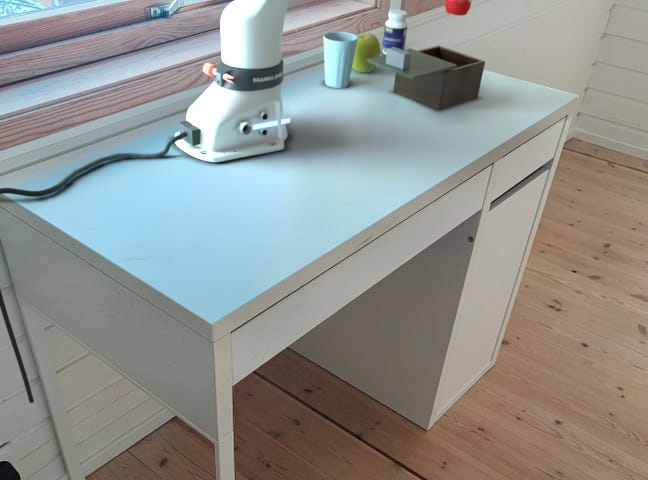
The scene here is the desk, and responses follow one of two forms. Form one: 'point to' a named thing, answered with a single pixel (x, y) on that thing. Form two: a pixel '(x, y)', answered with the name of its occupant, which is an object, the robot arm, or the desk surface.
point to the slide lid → (411, 63)
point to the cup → (339, 57)
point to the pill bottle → (395, 30)
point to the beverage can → (457, 7)
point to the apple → (365, 52)
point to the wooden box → (444, 81)
